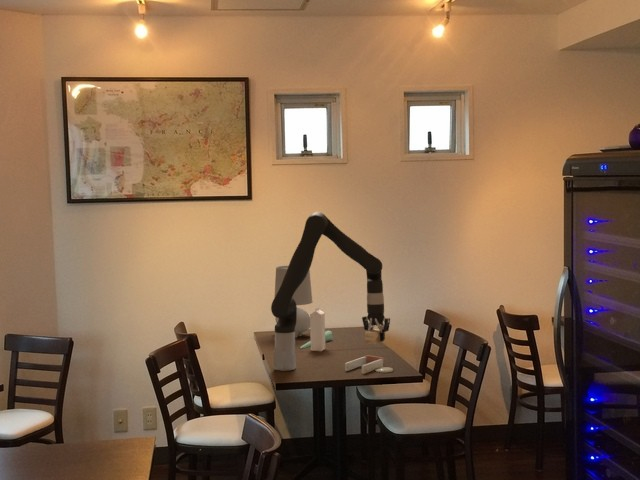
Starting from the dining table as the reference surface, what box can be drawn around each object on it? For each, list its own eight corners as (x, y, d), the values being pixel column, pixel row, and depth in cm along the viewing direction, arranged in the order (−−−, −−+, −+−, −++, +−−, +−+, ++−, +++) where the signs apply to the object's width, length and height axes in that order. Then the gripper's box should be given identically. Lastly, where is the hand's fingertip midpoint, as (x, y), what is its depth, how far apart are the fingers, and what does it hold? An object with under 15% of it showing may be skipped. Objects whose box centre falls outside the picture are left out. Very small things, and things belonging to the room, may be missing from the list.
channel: (363, 373, 310) (363, 364, 310) (345, 370, 316) (344, 362, 316) (384, 366, 324) (384, 357, 323) (366, 363, 330) (365, 354, 329)
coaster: (387, 373, 310) (387, 372, 310) (371, 371, 314) (371, 369, 314) (396, 370, 316) (396, 368, 316) (381, 367, 321) (381, 366, 321)
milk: (310, 350, 359) (309, 308, 358) (314, 348, 365) (313, 306, 363) (322, 351, 357) (320, 308, 356) (325, 348, 363) (324, 306, 361)
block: (375, 344, 306) (374, 332, 306) (365, 343, 309) (365, 332, 309) (384, 341, 312) (384, 329, 312) (374, 340, 315) (374, 329, 315)
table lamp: (265, 337, 396) (263, 266, 393) (288, 330, 414) (287, 263, 411) (298, 341, 383) (296, 268, 380) (320, 334, 400) (319, 264, 398)
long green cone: (295, 338, 365) (324, 330, 387) (296, 349, 365) (324, 339, 387) (304, 339, 362) (332, 330, 384) (304, 350, 362) (333, 340, 384)
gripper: (393, 302, 309) (394, 340, 310) (367, 300, 318) (368, 337, 319) (384, 304, 304) (385, 343, 304) (357, 302, 313) (358, 340, 313)
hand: (376, 340), depth 312 cm, fingers closed on block, 5 cm apart
